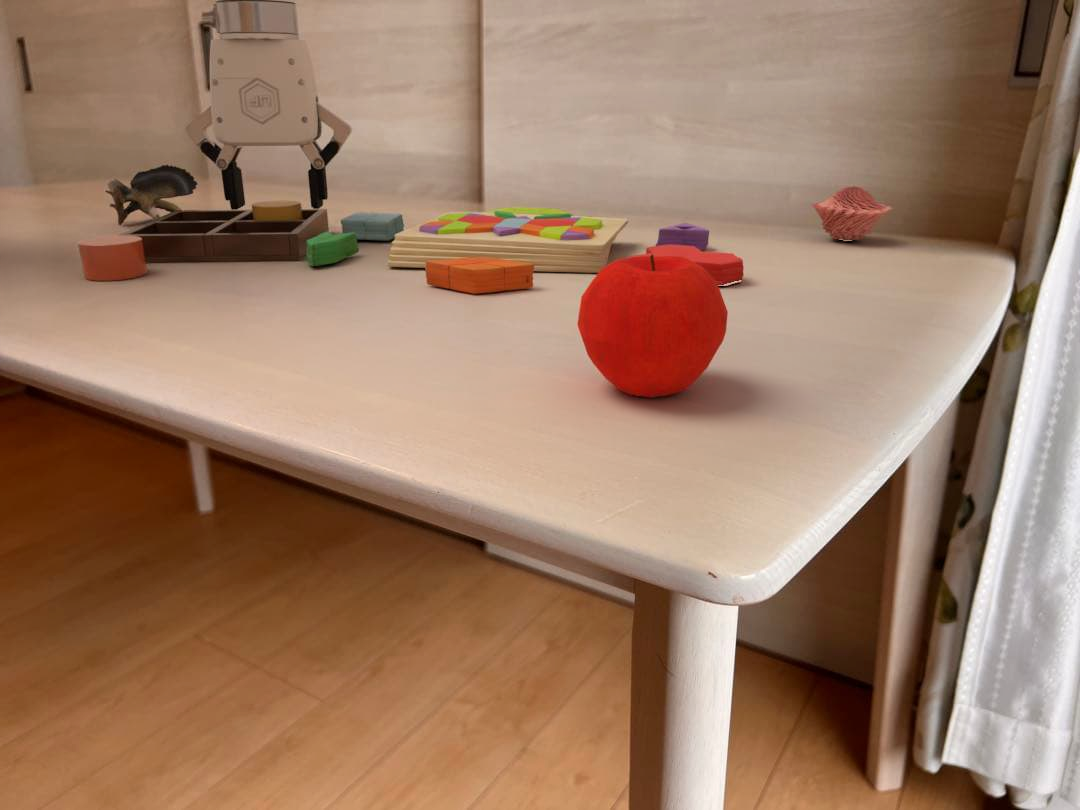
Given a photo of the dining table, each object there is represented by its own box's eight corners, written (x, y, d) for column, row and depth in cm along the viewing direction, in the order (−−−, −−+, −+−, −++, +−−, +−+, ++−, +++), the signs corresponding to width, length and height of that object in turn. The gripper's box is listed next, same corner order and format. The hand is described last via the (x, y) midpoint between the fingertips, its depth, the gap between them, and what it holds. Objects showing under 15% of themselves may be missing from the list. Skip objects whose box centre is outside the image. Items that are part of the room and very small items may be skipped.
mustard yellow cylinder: (249, 236, 89) (246, 207, 88) (261, 228, 93) (258, 200, 92) (298, 235, 89) (295, 206, 88) (307, 228, 94) (305, 200, 93)
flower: (882, 236, 93) (890, 183, 91) (891, 249, 85) (900, 192, 83) (806, 233, 94) (812, 181, 92) (809, 245, 87) (815, 190, 85)
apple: (666, 358, 52) (672, 235, 50) (754, 397, 46) (767, 259, 43) (551, 378, 49) (551, 248, 46) (629, 424, 42) (635, 275, 39)
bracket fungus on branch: (132, 220, 96) (208, 198, 101) (101, 164, 96) (178, 144, 101) (126, 248, 102) (197, 226, 107) (96, 195, 102) (169, 176, 107)
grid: (120, 262, 79) (115, 235, 79) (178, 233, 95) (175, 210, 94) (299, 260, 80) (297, 233, 80) (328, 231, 96) (327, 208, 95)
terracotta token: (74, 281, 72) (67, 245, 71) (98, 269, 77) (92, 235, 76) (135, 280, 72) (129, 245, 71) (156, 268, 77) (150, 234, 76)
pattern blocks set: (272, 296, 67) (268, 257, 66) (348, 227, 98) (345, 199, 97) (756, 292, 68) (760, 254, 67) (678, 225, 99) (680, 198, 98)
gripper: (153, 22, 80) (182, 213, 86) (342, 22, 81) (356, 211, 87) (180, 26, 87) (204, 203, 93) (353, 27, 88) (366, 202, 94)
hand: (277, 206), depth 90 cm, fingers open, 7 cm apart
